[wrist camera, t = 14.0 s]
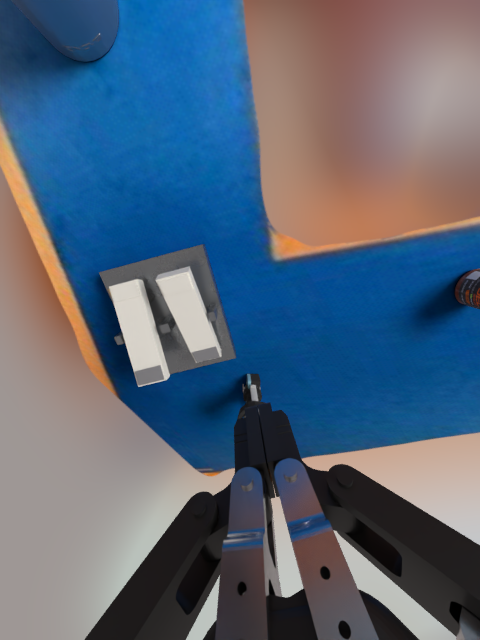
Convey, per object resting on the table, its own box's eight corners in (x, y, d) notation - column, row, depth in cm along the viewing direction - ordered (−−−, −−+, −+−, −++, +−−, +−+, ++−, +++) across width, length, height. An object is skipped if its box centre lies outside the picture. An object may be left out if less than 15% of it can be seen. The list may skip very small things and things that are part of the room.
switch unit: (106, 270, 35) (79, 277, 28) (204, 243, 34) (198, 245, 28) (151, 371, 41) (136, 396, 34) (235, 350, 40) (236, 372, 34)
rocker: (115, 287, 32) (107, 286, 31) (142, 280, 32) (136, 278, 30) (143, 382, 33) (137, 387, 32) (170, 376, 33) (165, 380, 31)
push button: (263, 402, 44) (272, 447, 35) (235, 402, 44) (236, 447, 34) (266, 372, 42) (277, 411, 32) (237, 371, 41) (238, 410, 32)
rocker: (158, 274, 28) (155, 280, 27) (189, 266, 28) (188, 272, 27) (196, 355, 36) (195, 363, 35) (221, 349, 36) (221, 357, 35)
